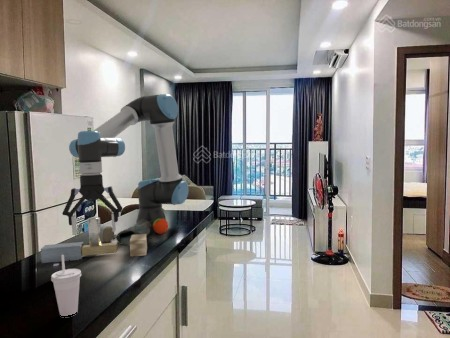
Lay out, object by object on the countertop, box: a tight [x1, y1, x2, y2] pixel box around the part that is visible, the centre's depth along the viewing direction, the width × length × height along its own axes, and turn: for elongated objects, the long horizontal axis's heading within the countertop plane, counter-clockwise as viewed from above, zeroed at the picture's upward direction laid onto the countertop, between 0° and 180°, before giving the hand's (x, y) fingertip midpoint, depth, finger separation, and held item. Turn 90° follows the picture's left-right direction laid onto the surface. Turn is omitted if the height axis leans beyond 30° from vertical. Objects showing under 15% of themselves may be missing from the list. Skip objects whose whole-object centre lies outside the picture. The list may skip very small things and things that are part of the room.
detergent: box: [115, 219, 153, 246], centre depth 146 cm, size 13×7×25 cm
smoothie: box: [50, 255, 82, 317], centre depth 78 cm, size 6×6×14 cm
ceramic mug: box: [87, 223, 117, 244], centre depth 143 cm, size 11×8×8 cm
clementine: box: [152, 218, 169, 235], centre depth 152 cm, size 8×7×7 cm
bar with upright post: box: [81, 216, 119, 257], centre depth 121 cm, size 23×4×13 cm, turn 101°
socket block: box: [129, 234, 148, 257], centre depth 125 cm, size 6×9×6 cm, turn 11°
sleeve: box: [40, 241, 85, 264], centre depth 120 cm, size 13×5×5 cm, turn 101°
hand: (94, 232), depth 122 cm, fingers open, 13 cm apart
